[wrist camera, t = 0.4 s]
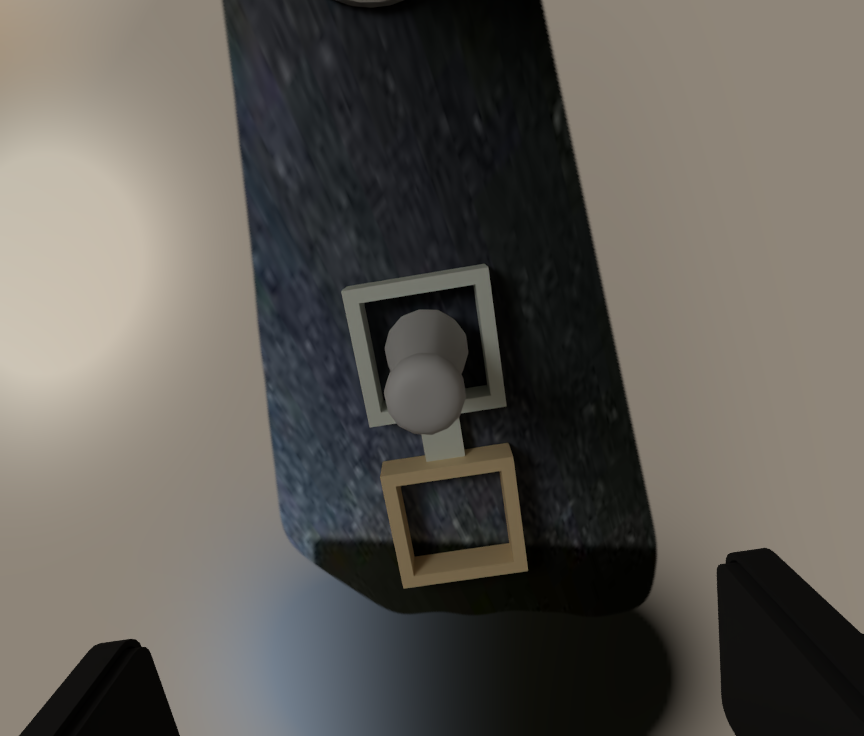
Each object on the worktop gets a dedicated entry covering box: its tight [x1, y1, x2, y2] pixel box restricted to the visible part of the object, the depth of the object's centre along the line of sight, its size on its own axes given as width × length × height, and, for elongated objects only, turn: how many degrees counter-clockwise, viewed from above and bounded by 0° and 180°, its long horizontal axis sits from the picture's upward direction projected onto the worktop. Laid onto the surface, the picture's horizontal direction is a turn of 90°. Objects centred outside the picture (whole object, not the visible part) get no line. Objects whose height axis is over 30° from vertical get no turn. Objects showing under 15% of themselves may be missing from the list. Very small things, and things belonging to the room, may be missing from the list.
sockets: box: [341, 264, 528, 588], centre depth 40 cm, size 24×10×2 cm, turn 9°
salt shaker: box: [384, 310, 468, 435], centre depth 33 cm, size 6×6×13 cm
